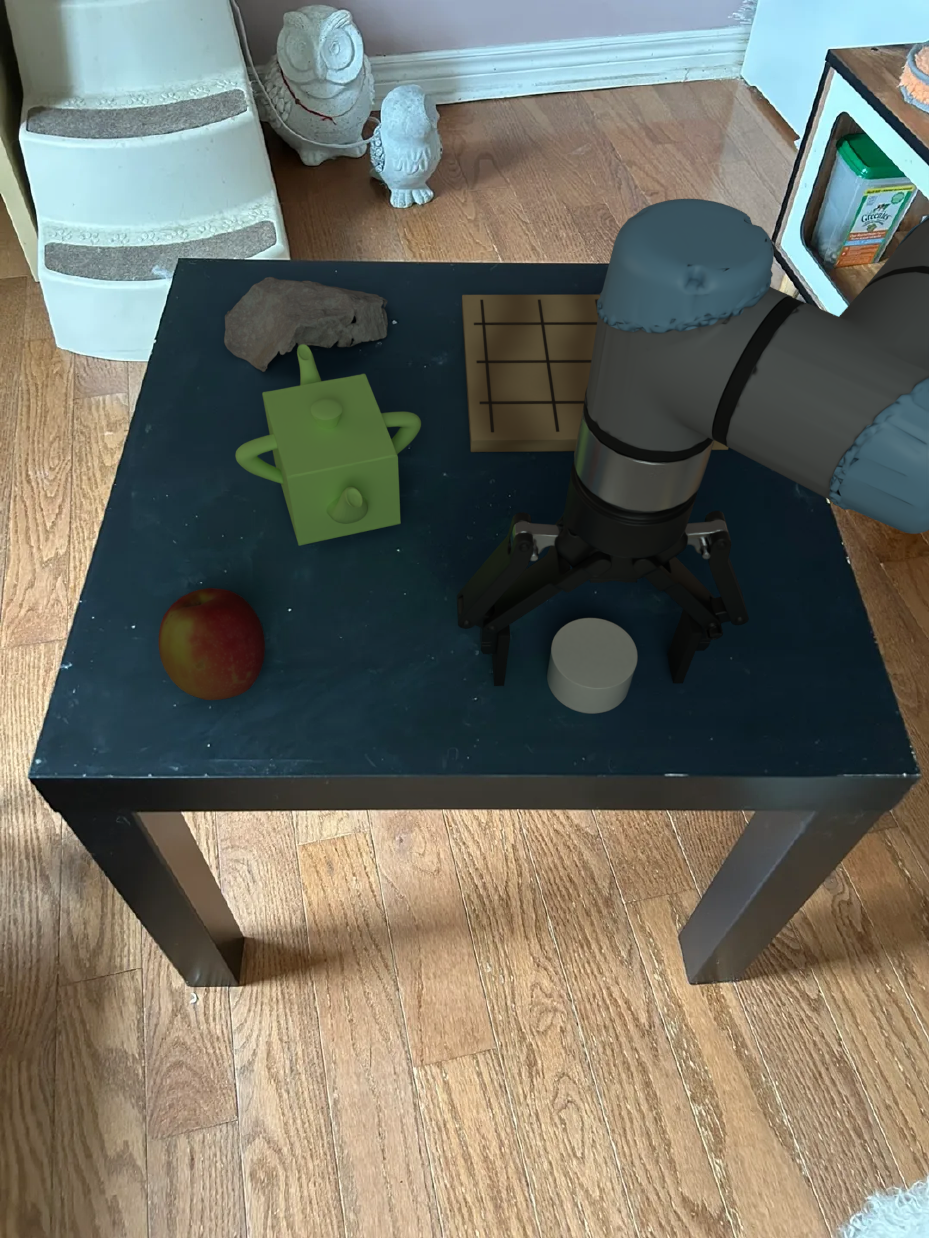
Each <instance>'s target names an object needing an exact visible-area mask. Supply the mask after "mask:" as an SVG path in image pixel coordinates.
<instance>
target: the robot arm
mask: <svg viewBox="0 0 929 1238" xmlns="http://www.w3.org/2000/svg"><path fill="white" fill-rule="evenodd" d="M774 255H775V252H774V247H773V243H772V240H771V237H770V236H769V234H768V232H767V231H766V230H765V229H764V228H763V227H762V226H760V225H756V224H753V222H752V220H751V217H750V216H749V215H748V213H745V212H744V211H743V210H740V209H738V208H736V207H733V206H730V205H728V204H724V203H722V202H718V201H714V200H707V199H702V198H674V199H669V200H668V199H667V200H663V201H659V202H656V203H653V204H650V205H648V206H645V207H644V208H642V209H640V210H639V211H638V212H637V213H635V214H634V215H632V216H631V217H629V218H628V219H627V220H626V221H625V223H623V225H622V226H621V228H620V229H619V230H618V233H617V234H616V236H615V240H614V243H613V246H612V251H611V254H610V258H609V263H608V266H607V271H606V273H605V274H606V275H605V278H604V283H603V286H602V290H601V291H600V293H599V295H600V298H599V299H598V300H597V313H598V321H597V327H596V334H595V340H594V347H593V354H592V360H591V367H590V373H589V380H588V387H587V389H586V392H585V399H584V406H583V411H582V416H581V421H580V426H579V432H578V437H577V442H576V447H575V451H573V452H574V453H573V459H574V460H573V462H572V465H571V470H570V476H569V481H568V487H567V493H566V498H565V505H564V509H563V512H562V515H561V517H560V518H559V519H558V520H556V521H555V523H554V524H547V523H532V516H531V514H529V513H528V512H524V511H522V512H520V511H519V512H517V513H515V514H514V515H513V516H512V518H511V521H510V525H509V529H508V533H507V536H506V537H504V539H503V540H502V541H501V542H500V544H498V545H497V547H496V548H495V549H494V551H493V552H492V553H491V554H490V555H489V557H487V559H486V560H485V561H483V563H482V565H481V566H480V567H479V568H478V569H477V570H476V572H475V573H474V574H473V575H472V576H471V578H470V579H469V580H468V581H467V582H466V583H465V585H463V587H462V588H461V589H460V590H459V591H458V592H457V594H456V613H457V614H456V615H457V626H458V627H459V628H461V629H462V630H463V629H465V630H468V629H469V630H470V629H472V628H474V627H475V626H476V627H479V629H480V630H479V644H480V651H481V653H482V654H483V655H491V660H492V677H493V687H505V681H506V673H507V665H508V658H509V657H508V656H509V650H510V642H511V626H510V625H512V624H513V623H514V622H516V621H518V620H519V619H521V618H522V617H524V616H525V615H527V614H528V613H530V612H532V611H533V610H534V609H536V608H538V607H539V606H541V605H542V604H544V603H545V602H547V601H549V599H552V598H553V597H555V596H556V595H558V594H559V593H561V592H565V593H568V594H569V593H570V592H572V591H574V590H575V589H577V588H579V587H580V586H582V585H583V584H585V583H586V582H588V581H589V583H590V584H602V583H608V582H619V583H625V584H626V583H637V582H638V580H640V579H643V578H645V579H646V581H648V582H649V583H650V584H651V585H652V586H653V587H655V589H656V590H657V591H659V592H660V593H662V592H665V594H667V595H668V596H669V597H670V598H671V599H672V600H673V601H674V602H675V603H676V604H677V605H678V606H679V607H680V608H681V609H682V611H681V614H680V618H679V620H678V622H677V625H676V628H675V631H674V634H673V637H672V640H671V641H670V645H669V648H668V650H667V653H666V656H667V661H668V665H669V671H670V675H671V676H670V677H671V679H672V680H671V681H672V684H684V681H685V679H686V677H687V674H688V671H689V668H690V667H691V665H692V661H693V660H694V657H695V654H696V652H704V651H706V650H707V649H708V648H709V646H710V644H711V641H717V640H718V639H721V638H722V637H723V636H724V631H723V628H722V624H724V623H728V622H730V623H731V624H732V625H733V626H742V625H745V624H747V623H748V621H749V620H750V619H749V614H748V610H747V607H746V603H745V599H744V595H743V591H742V588H741V586H740V582H739V580H738V578H737V575H736V572H735V570H734V566H733V564H732V561H731V559H730V554H731V548H732V540H731V536H730V533H729V529H728V525H727V521H726V518H725V517H726V516H725V514H724V513H723V511H721V510H712V511H710V512H708V513H707V514H706V515H705V517H704V520H703V522H701V521H700V522H692V523H691V522H689V520H690V518H691V514H692V511H693V508H694V506H695V502H696V499H697V497H698V493H699V491H698V490H699V488H700V486H701V484H702V481H703V479H704V475H705V472H706V469H707V466H708V463H709V461H710V460H709V459H710V456H711V453H712V451H713V450H712V447H713V444H714V441H717V442H719V443H721V444H723V445H725V446H726V447H729V448H730V449H731V450H733V451H735V452H737V453H739V454H740V455H742V456H745V457H746V458H749V459H750V460H753V461H755V462H756V463H758V464H760V465H762V466H764V467H766V468H768V469H770V470H772V471H773V472H776V473H777V474H779V475H781V476H783V477H785V478H787V479H789V480H790V481H793V482H794V483H796V484H798V485H799V486H802V487H804V488H806V489H808V490H810V491H811V492H813V493H815V494H817V495H819V496H821V497H823V498H825V499H827V500H829V501H830V502H831V503H832V504H833V505H835V506H837V507H839V508H840V509H841V510H844V511H847V510H849V511H853V512H855V513H858V514H861V515H863V516H865V517H866V518H867V517H868V518H870V519H871V520H874V521H877V522H879V523H882V524H883V525H886V526H888V527H891V528H892V529H895V530H898V531H900V532H903V533H906V534H910V535H913V534H914V535H915V534H917V535H918V534H922V533H925V532H926V533H927V532H928V531H929V214H927V215H926V217H925V218H924V219H922V220H921V221H920V222H919V223H918V224H916V225H914V226H913V227H912V228H911V229H910V230H909V231H907V233H906V234H905V236H903V239H902V240H901V241H900V242H899V244H898V245H897V247H896V249H895V250H894V251H893V253H892V254H891V255H890V257H888V259H887V260H886V261H885V262H884V263H883V265H882V266H881V267H880V268H879V270H878V271H877V272H876V273H875V274H874V275H873V277H872V278H871V279H870V280H869V281H868V282H867V283H866V285H865V286H864V287H863V288H862V290H861V291H860V292H859V293H858V294H857V295H856V297H855V298H854V299H853V300H852V301H850V303H849V304H848V306H847V307H846V308H845V309H844V310H843V311H842V312H841V313H840V314H839V316H838V315H836V314H834V313H831V312H829V311H827V310H825V309H822V308H820V307H817V306H815V305H813V304H810V303H808V302H805V301H803V300H800V299H798V298H796V297H793V296H792V295H790V294H788V293H786V292H783V291H782V290H779V289H776V288H774V287H772V286H771V284H772V278H773V275H774V273H773V271H772V269H773V268H772V267H773V264H774V257H775V256H774ZM729 448H728V449H729ZM688 545H689V546H693V547H694V551H695V552H696V553H697V554H700V555H701V558H702V559H703V560H707V562H708V566H709V570H710V573H711V575H712V578H713V580H714V584H715V585H716V588H717V591H718V593H719V595H720V596H717V597H715V596H714V594H712V592H711V591H710V590H709V589H708V588H707V587H706V586H705V585H704V584H703V583H702V582H701V581H700V580H699V579H698V578H697V577H696V576H695V575H694V574H693V573H692V572H691V571H690V570H689V569H688V567H686V566H685V565H684V564H683V562H681V561H680V560H679V559H678V557H677V556H678V555H679V554H681V553H682V552H683V551H685V549H686V548H687V546H688ZM548 547H549V548H548ZM546 548H548V551H547V553H546V554H545V555H544V556H543V557H541V558H540V559H539V555H540V554H541V553H542V551H543V550H545V549H546ZM530 562H534V563H533V564H531V565H530V566H529V564H530Z"/></svg>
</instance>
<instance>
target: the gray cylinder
mask: <svg viewBox="0 0 929 1238" xmlns="http://www.w3.org/2000/svg"><path fill="white" fill-rule="evenodd" d="M632 638H633V637H631V636H630V634H629V633H628V632H627V631H626V630H625V629H623V628H622V627H621V626H620V625H618V624H616V623H614V622H612V621H609V620H607V619H602V618H598V617H583V618H578V619H575V620H572V621H570V622H568V623H566V624H564V626H562V627H561V628H560V629H559V630H558V631H557V632H556V634H555V635H554V637H553V640H552V642H551V646H550V653H549V659H548V665H547V671H546V681H547V684H548V687H549V689H550V691H551V693H552V694H553V696H554V698H556V699H557V701H558V702H559V703H561V704H562V705H563V706H565V707H566V708H569V709H570V710H573V711H576V712H578V713H582V714H593V715H594V714H603V713H606V712H609V711H612V710H614V709H615V708H616V707H619V705H620V704H621V703H623V701H624V700H625V699H626V697H627V695H628V693H629V691H630V688H631V685H632V682H633V678H634V675H635V671H636V668H637V664H638V658H639V656H638V650H637V647H636V644H635V642H634V639H632Z"/></svg>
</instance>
